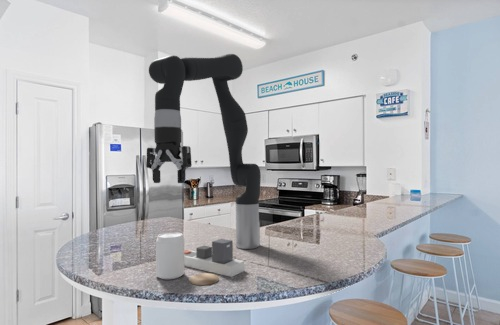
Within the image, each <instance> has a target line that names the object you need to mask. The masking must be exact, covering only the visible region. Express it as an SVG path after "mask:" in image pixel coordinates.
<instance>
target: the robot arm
mask: <svg viewBox="0 0 500 325" xmlns="http://www.w3.org/2000/svg"><path fill="white" fill-rule="evenodd" d="M243 67H244V66H243V62H242V60H241V58H240V57H239V56H238V55H237V54H234V53H228V54H223V55H220V56H216V57H181V58H180V56H177V55H169V56H168V55H167V56H165V57H161V58H157V59H154V60H153V61H152V62H151V63H150V64H149V66H148V74H149V77H150V78H151V79H152V81H153V82H155V83H157V84H160V85H163V86H162V88H161V89H159V90H157V91H156V92H155V94H154V126H153V127H154V143H155V147H147V148H146V163H145V164H146V166H145V167H146V168H147V169H151V172H152V181H153V184H160V183H161V170H160V169H161V167H162V166H163V165H164V164H165V163H169V162H170V163H172V164H174V165H175V167H176V168H177V171H176V172H177V183H178V184H184V183H185V181H186V169H189V168H191V167H192V152H191V150H192V149H191V147H190V146H189V145H188V146H187V145H183V146H182V145H181V143H182V118H181V117H182V116H181V94H182V92H183V87H184V83H185V82H191V81H200V80H206V79H212V83H213V87H214V91H215V93H216V94H215V95H216V96H217V101H218V105H219V110H220V114H221V120H222V125H223V131H224V136H225V140H226V146H227V150H228V159H229V170H230V176H231V180H232V182H233V184H234V185H235V186H237V187H245V191H244V192H243V193H242V194H239V195H237V196H236V197H235V248H238V249H241V250H242V249H243V250H251V249H257V248H259V247H260V245H261V240H260V238H261V223H260V215H259V214H260V212H259V211H260V210H259V209H260V204H259V200H260V196H261V178H262V177H261V168H260V166H259V164H257V163H244V161H243V146H244V144H245V141H246V139H247V136H248V133H249V132H248V129H249V128H248V123H247V122H248V121H247V116H246V113H245V111H244V109H243V107H241V106H240V104H239V103H238V102H237V101H236V99H235V98H234V97H233V95H232V93H231V91H230V88H229V83H228V81H233V80H237V79H239V78H240V77H241V76H242V74H243V70H244V69H243ZM181 155H182V156H181Z"/></svg>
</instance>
